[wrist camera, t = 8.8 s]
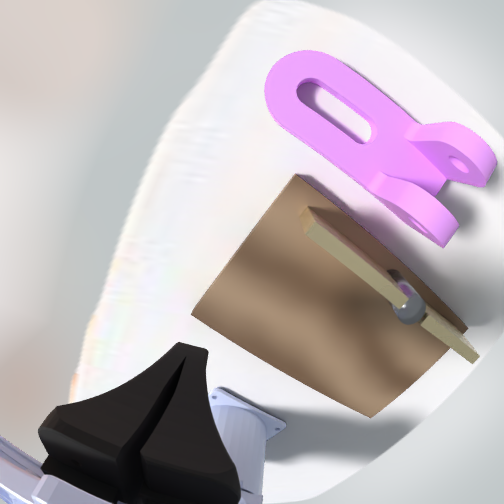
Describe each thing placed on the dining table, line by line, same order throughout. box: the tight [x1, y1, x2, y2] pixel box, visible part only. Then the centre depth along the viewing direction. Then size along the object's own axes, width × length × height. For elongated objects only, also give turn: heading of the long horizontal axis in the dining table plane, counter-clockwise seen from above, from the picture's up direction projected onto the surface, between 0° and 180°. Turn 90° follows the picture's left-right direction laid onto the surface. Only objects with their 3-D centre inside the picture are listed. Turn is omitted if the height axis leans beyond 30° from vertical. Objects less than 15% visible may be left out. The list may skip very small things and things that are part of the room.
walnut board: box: [191, 174, 468, 418], centre depth 21 cm, size 12×19×1 cm, turn 54°
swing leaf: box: [418, 302, 480, 364], centre depth 18 cm, size 1×7×4 cm, turn 58°
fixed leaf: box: [299, 206, 426, 325], centre depth 17 cm, size 2×9×4 cm, turn 54°
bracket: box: [265, 50, 497, 248], centre depth 14 cm, size 13×6×7 cm, turn 56°
